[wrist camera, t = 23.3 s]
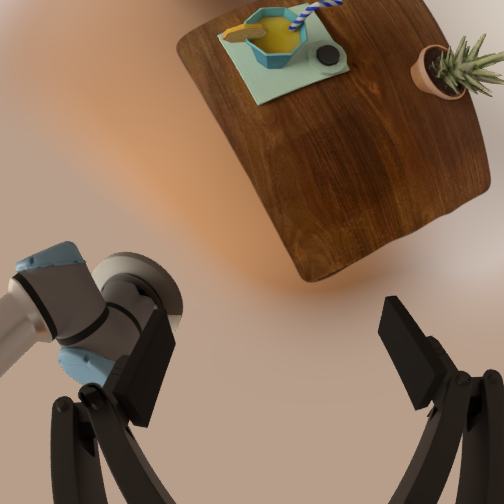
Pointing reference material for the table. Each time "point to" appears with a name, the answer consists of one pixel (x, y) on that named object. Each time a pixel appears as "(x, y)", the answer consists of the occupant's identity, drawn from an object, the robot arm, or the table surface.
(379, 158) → the table surface
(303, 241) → the table surface
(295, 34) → the cup
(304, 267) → the table surface
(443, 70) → the potted plant
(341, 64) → the scale
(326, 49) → the tare button
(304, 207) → the table surface
